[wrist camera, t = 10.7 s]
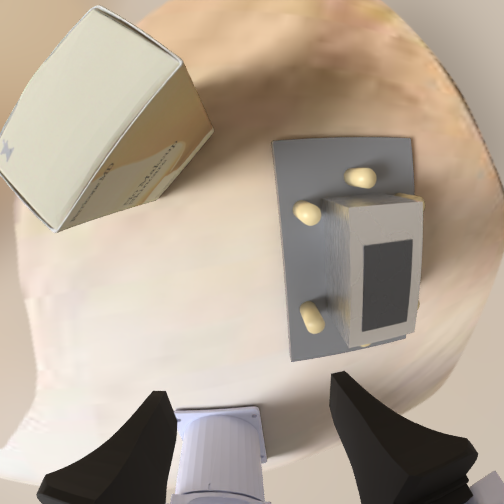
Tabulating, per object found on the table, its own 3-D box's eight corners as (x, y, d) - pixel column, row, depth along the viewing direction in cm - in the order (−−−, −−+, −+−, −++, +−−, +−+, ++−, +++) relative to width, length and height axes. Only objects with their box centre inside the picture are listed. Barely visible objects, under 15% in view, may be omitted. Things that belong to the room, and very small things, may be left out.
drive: (381, 300, 21) (414, 332, 16) (326, 310, 21) (349, 348, 16) (382, 193, 19) (423, 201, 14) (321, 198, 18) (349, 207, 14)
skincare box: (156, 202, 19) (51, 249, 7) (112, 163, 18) (-19, 166, 6) (220, 127, 18) (191, 58, 6) (172, 89, 17) (92, -1, 5)
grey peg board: (401, 333, 23) (419, 353, 19) (289, 356, 22) (296, 382, 19) (404, 139, 18) (430, 135, 15) (271, 142, 18) (277, 136, 15)
